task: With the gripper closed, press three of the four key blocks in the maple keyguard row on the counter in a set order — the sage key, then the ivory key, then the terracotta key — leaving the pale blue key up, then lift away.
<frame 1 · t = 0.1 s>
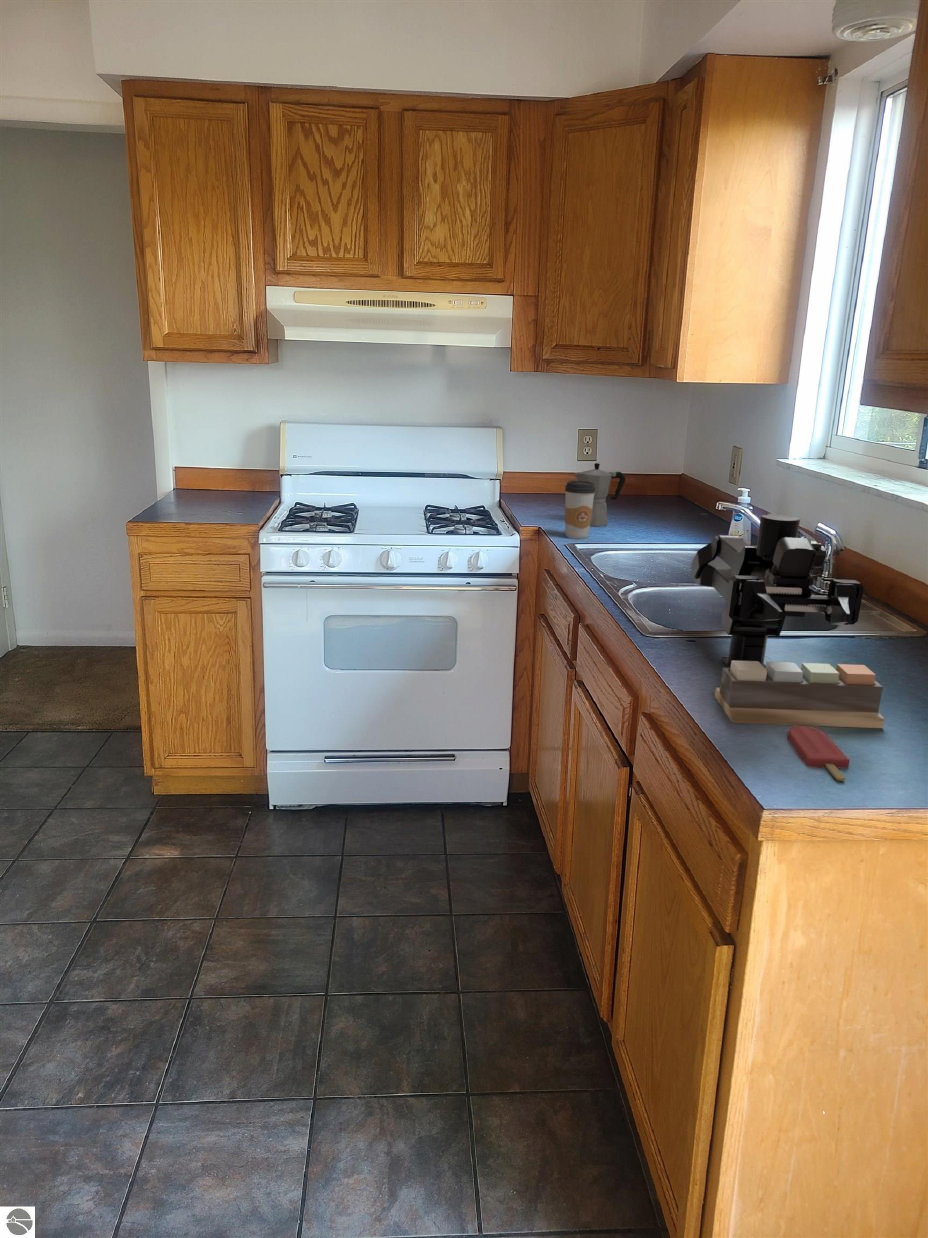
hand: (814, 616, 122), 17 cm above the worktop, tool horizontal, fingers open, 9 cm apart
popsicle: (818, 760, 119), on the worktop
ivory key: (747, 675, 132), point 5 cm above the worktop, slide at 0.0 cm
sage key: (818, 677, 132), point 6 cm above the worktop, slide at 0.0 cm
keyguard board: (795, 711, 133), on the worktop
coffeepot: (596, 524, 269), on the worktop
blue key: (783, 676, 132), point 5 cm above the worktop, slide at 0.0 cm
terracotta key: (854, 678, 132), point 6 cm above the worktop, slide at 0.0 cm
coffee cup: (576, 537, 250), on the worktop
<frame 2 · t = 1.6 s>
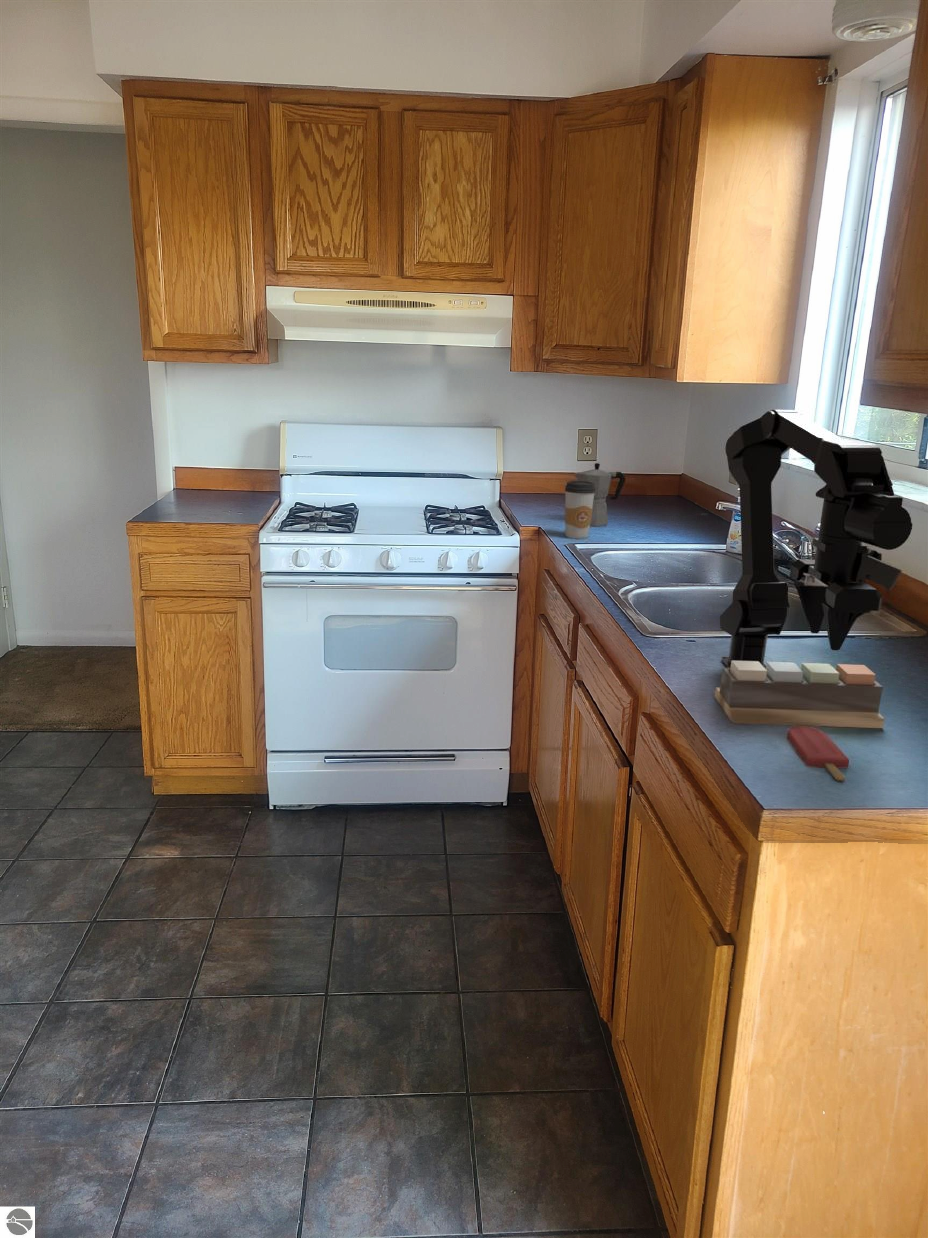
hand: (824, 641, 130), 11 cm above the worktop, tool pointing down, fingers open, 8 cm apart
nothing on the worktop moved.
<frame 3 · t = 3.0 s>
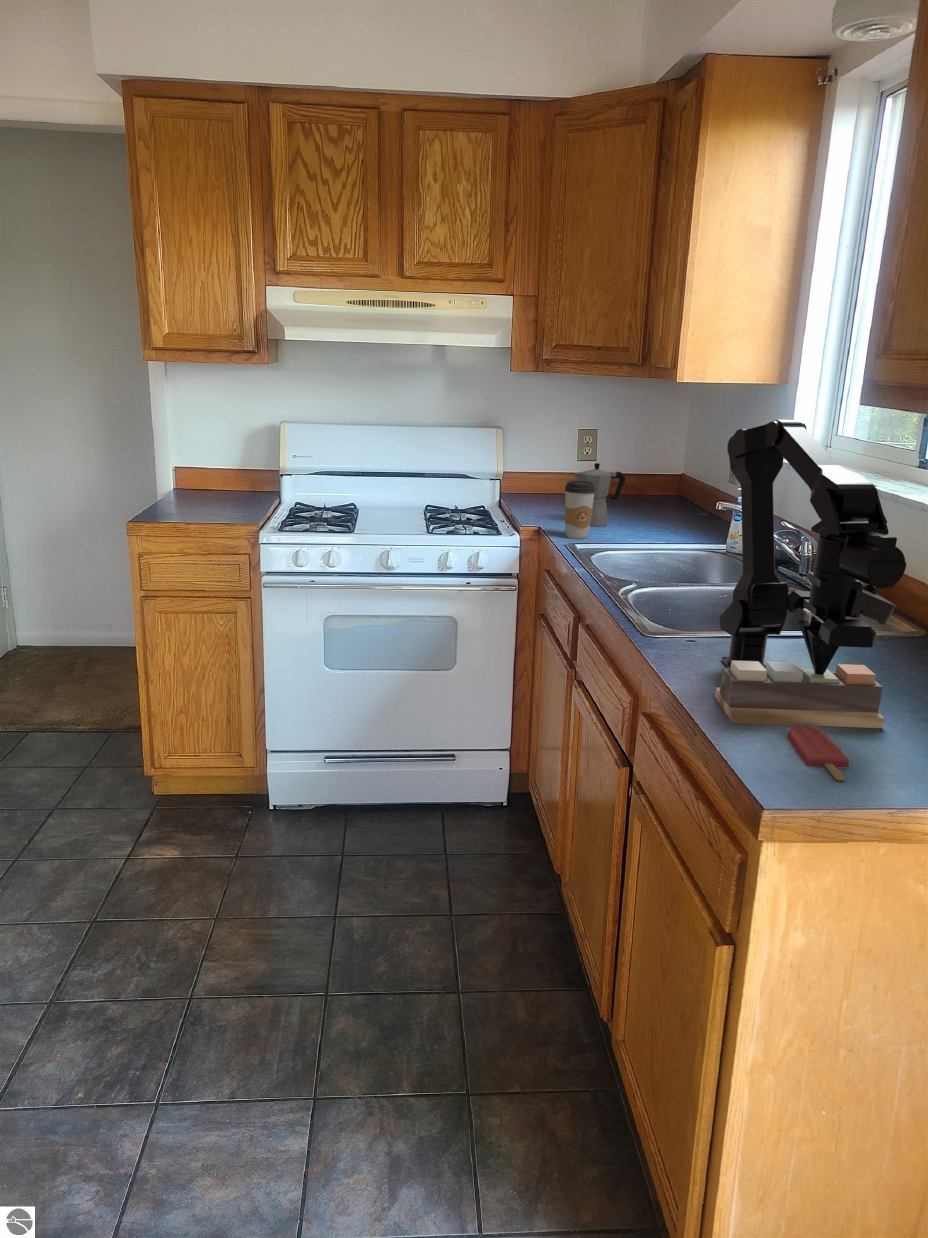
hand: (819, 673, 131), 6 cm above the worktop, tool pointing down, fingers closed, pressing on sage key
sage key: (817, 683, 132), point 5 cm above the worktop, slide at 0.9 cm, touching gripper
everything else where it was.
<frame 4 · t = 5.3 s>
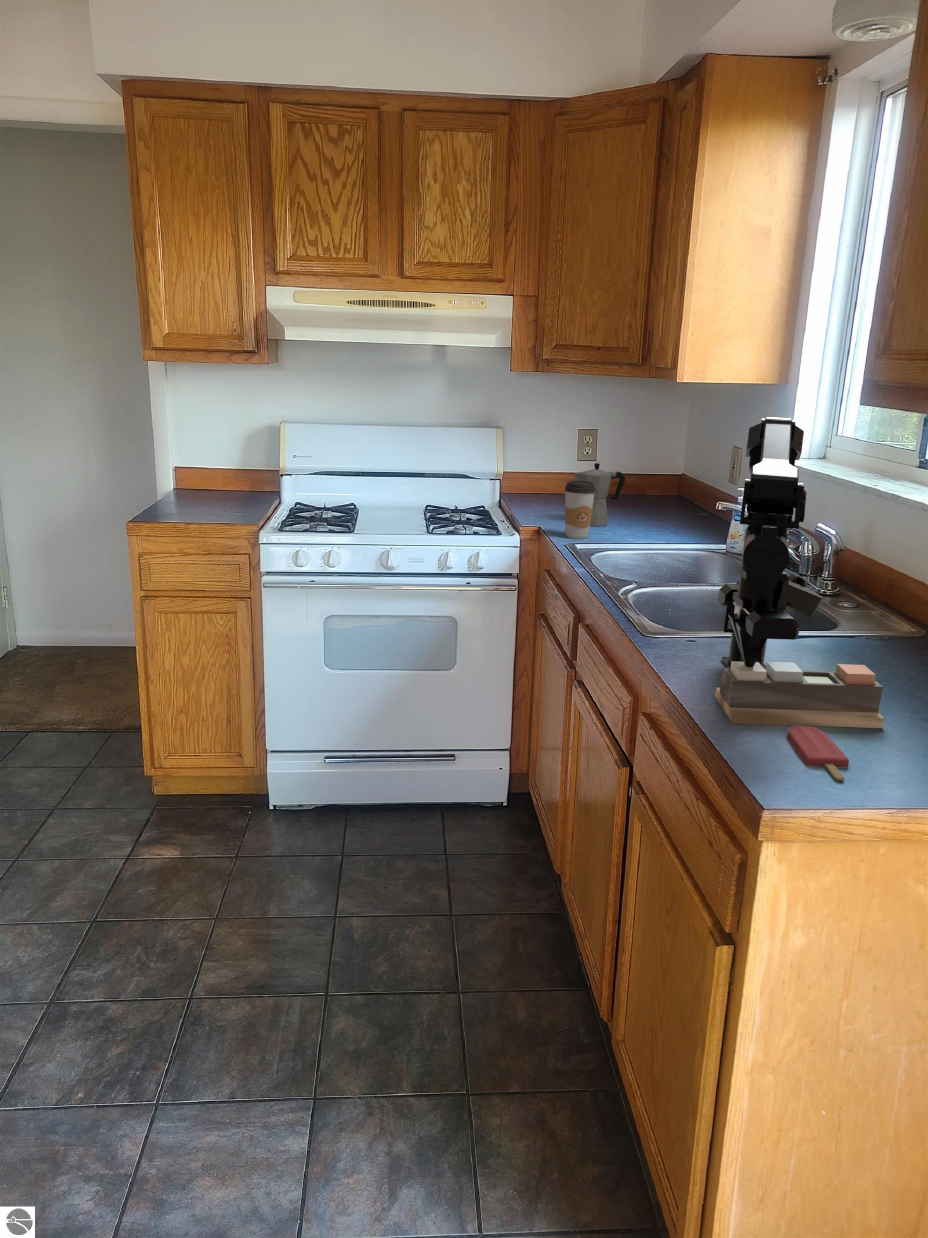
hand: (748, 666, 131), 7 cm above the worktop, tool pointing down, fingers closed, pressing on ivory key
ivory key: (747, 676, 132), point 5 cm above the worktop, slide at 0.2 cm, touching gripper
sage key: (816, 690, 132), point 3 cm above the worktop, slide at 2.0 cm
everything else where it was.
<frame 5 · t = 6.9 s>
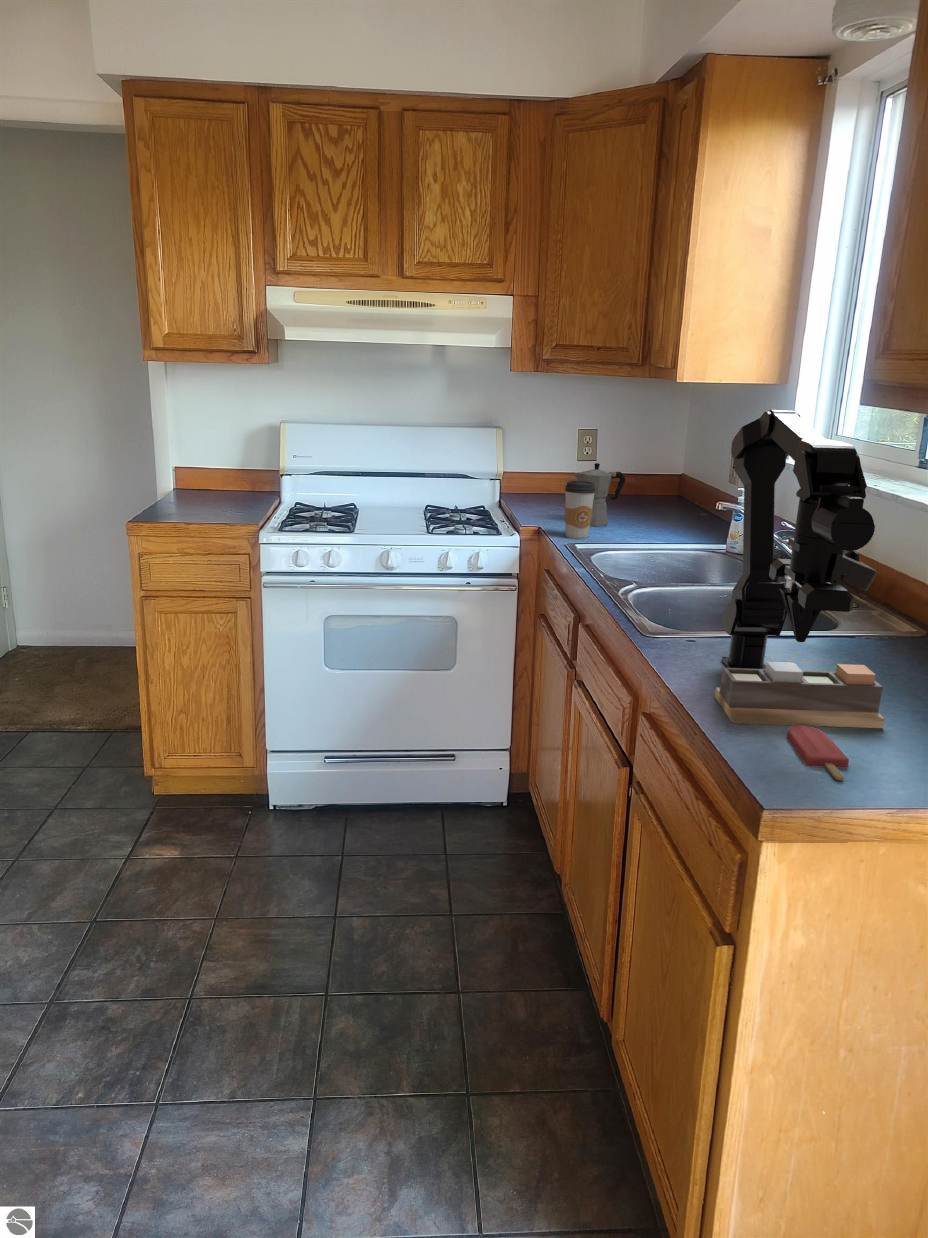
hand: (800, 641, 130), 11 cm above the worktop, tool pointing down, fingers closed
ivory key: (745, 688, 132), point 3 cm above the worktop, slide at 2.0 cm
everything else where it was.
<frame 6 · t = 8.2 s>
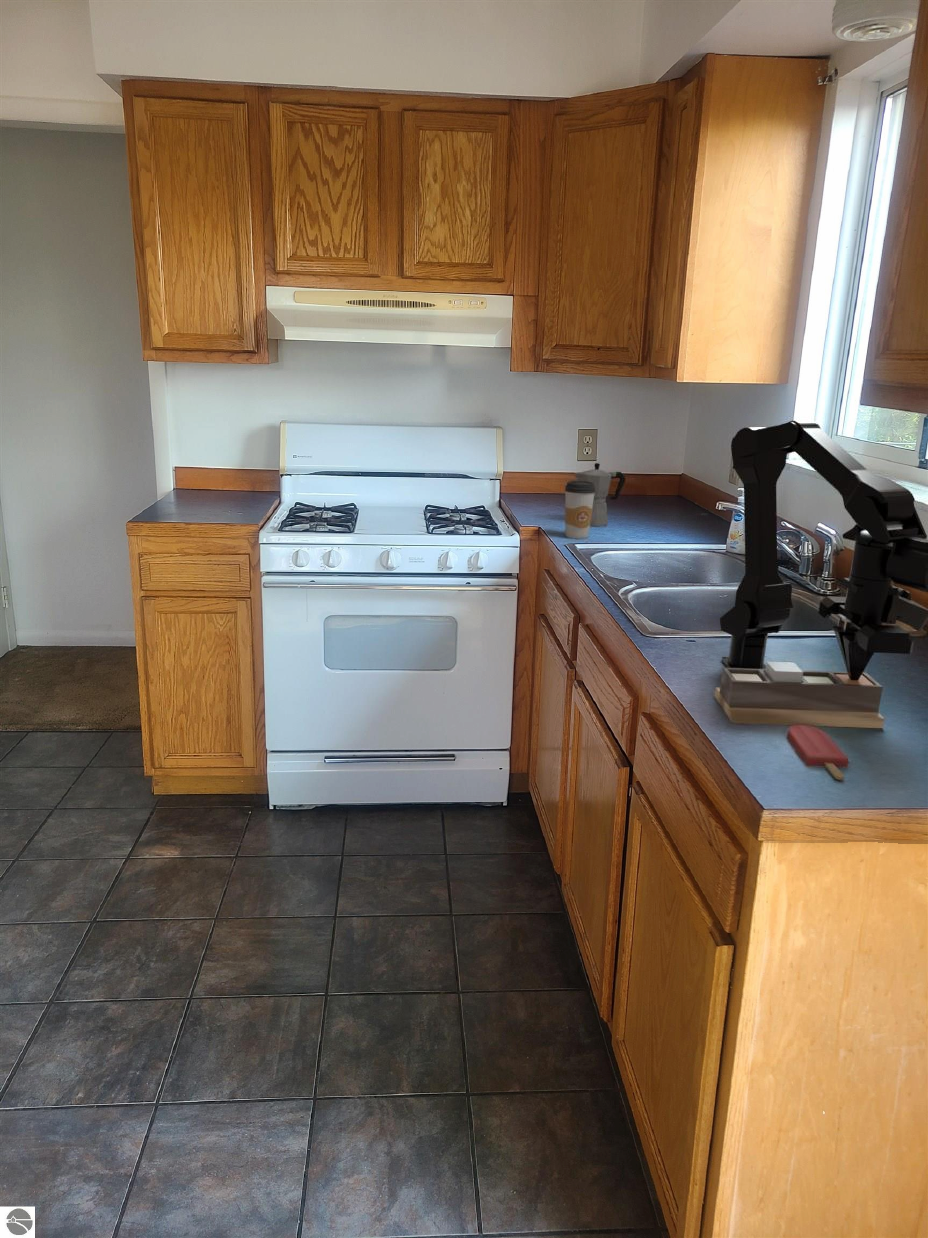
hand: (853, 679, 132), 5 cm above the worktop, tool pointing down, fingers closed, pressing on terracotta key
terracotta key: (852, 689, 132), point 4 cm above the worktop, slide at 1.6 cm, touching gripper
everything else where it was.
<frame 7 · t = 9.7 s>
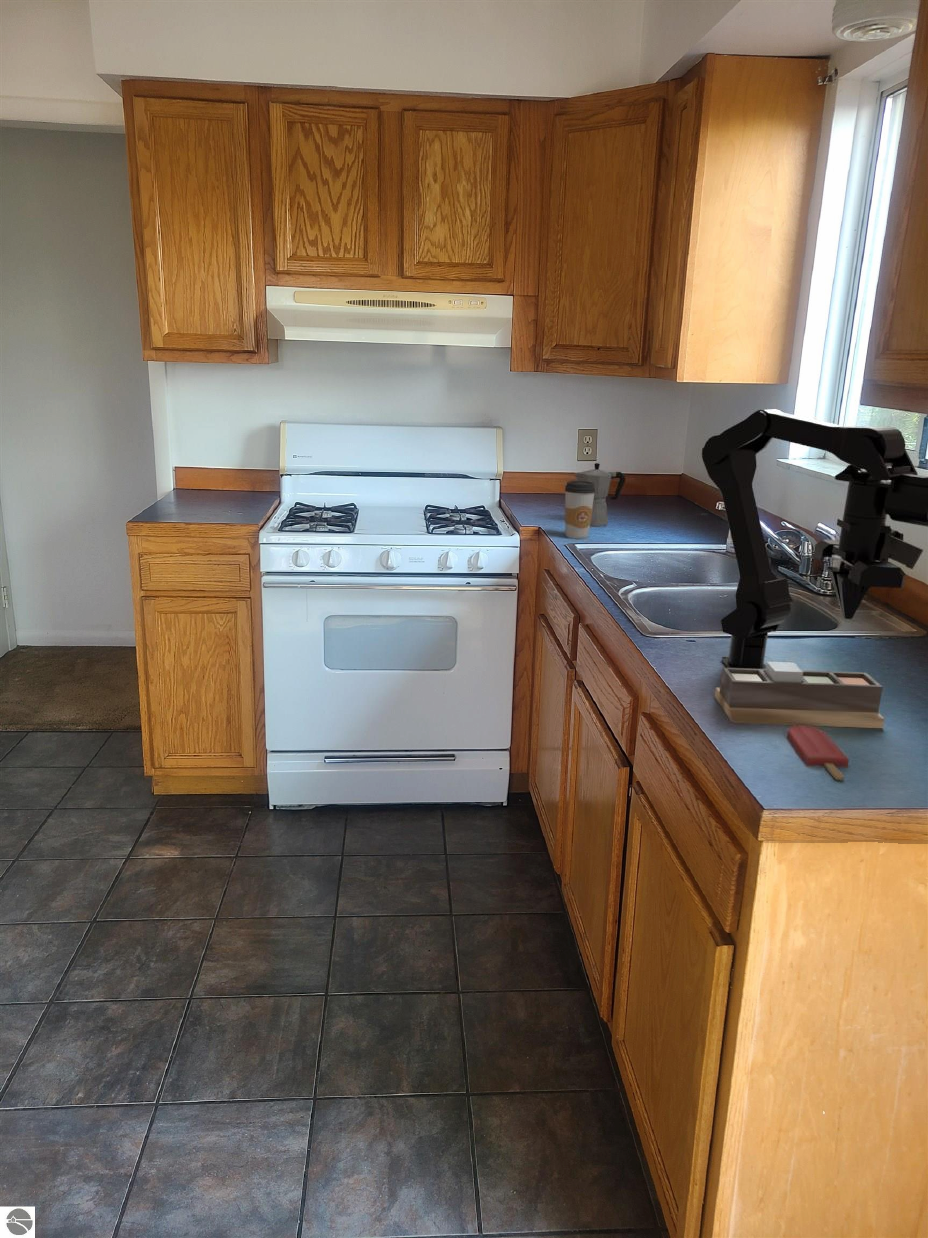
hand: (847, 618, 135), 13 cm above the worktop, tool pointing down, fingers closed
terracotta key: (852, 691, 132), point 3 cm above the worktop, slide at 2.0 cm
everything else where it was.
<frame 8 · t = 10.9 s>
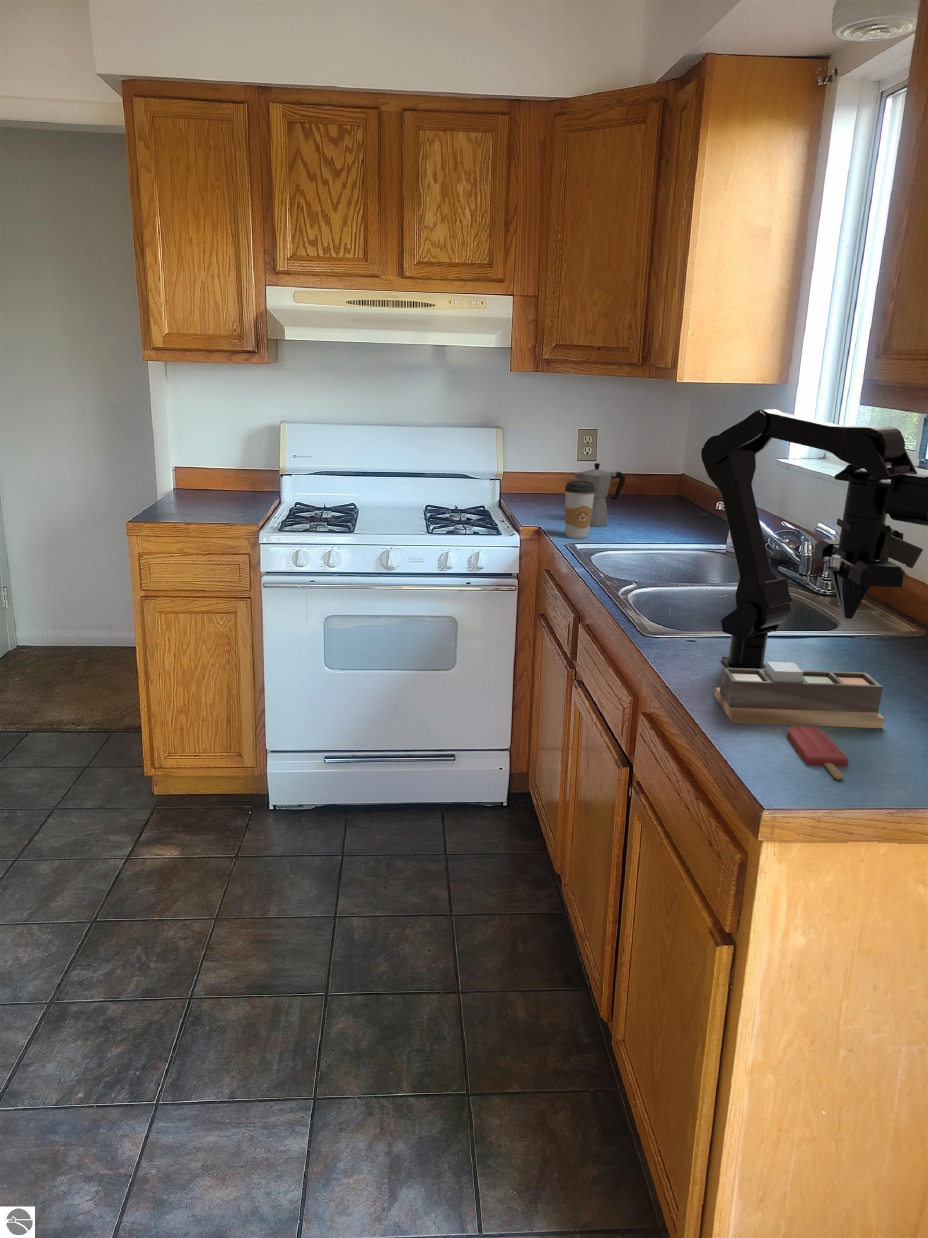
hand: (847, 617, 135), 13 cm above the worktop, tool pointing down, fingers closed
nothing on the worktop moved.
at the end: sage key slide at 2.0 cm; ivory key slide at 2.0 cm; terracotta key slide at 2.0 cm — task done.
